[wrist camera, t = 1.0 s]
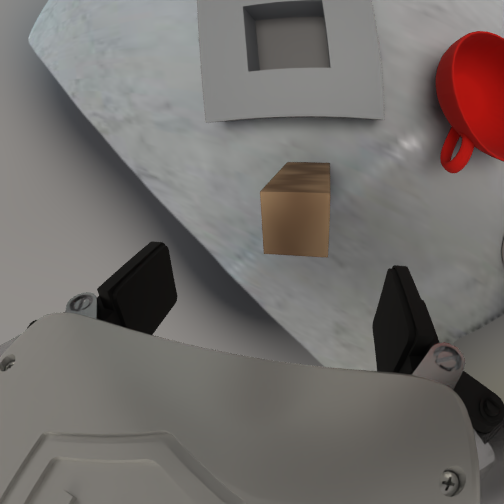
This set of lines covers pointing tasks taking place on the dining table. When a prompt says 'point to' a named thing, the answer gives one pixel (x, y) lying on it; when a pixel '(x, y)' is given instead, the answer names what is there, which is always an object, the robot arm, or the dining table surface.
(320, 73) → the well block
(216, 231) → the dining table surface
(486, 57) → the ceramic cup
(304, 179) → the brown rectangular block
